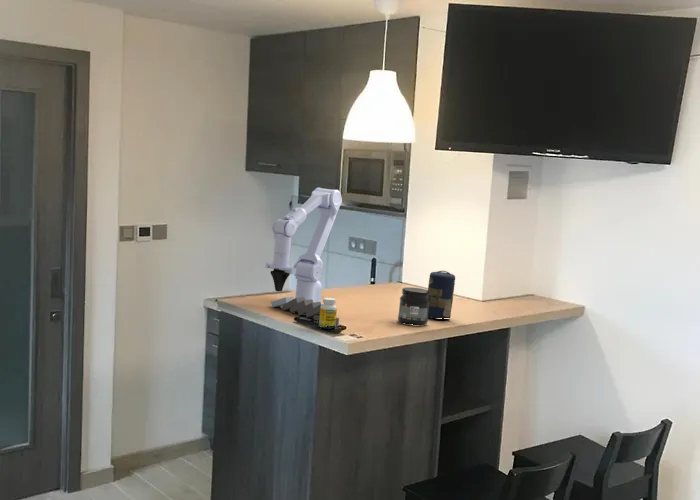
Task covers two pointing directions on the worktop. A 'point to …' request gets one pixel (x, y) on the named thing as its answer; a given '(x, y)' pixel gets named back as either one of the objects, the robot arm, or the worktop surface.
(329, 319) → the supplement bottle
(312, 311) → the domino
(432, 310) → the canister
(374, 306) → the worktop surface
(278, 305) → the domino
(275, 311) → the worktop surface
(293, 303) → the domino
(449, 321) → the worktop surface
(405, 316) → the supplement container
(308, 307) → the domino
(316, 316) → the domino
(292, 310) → the domino
